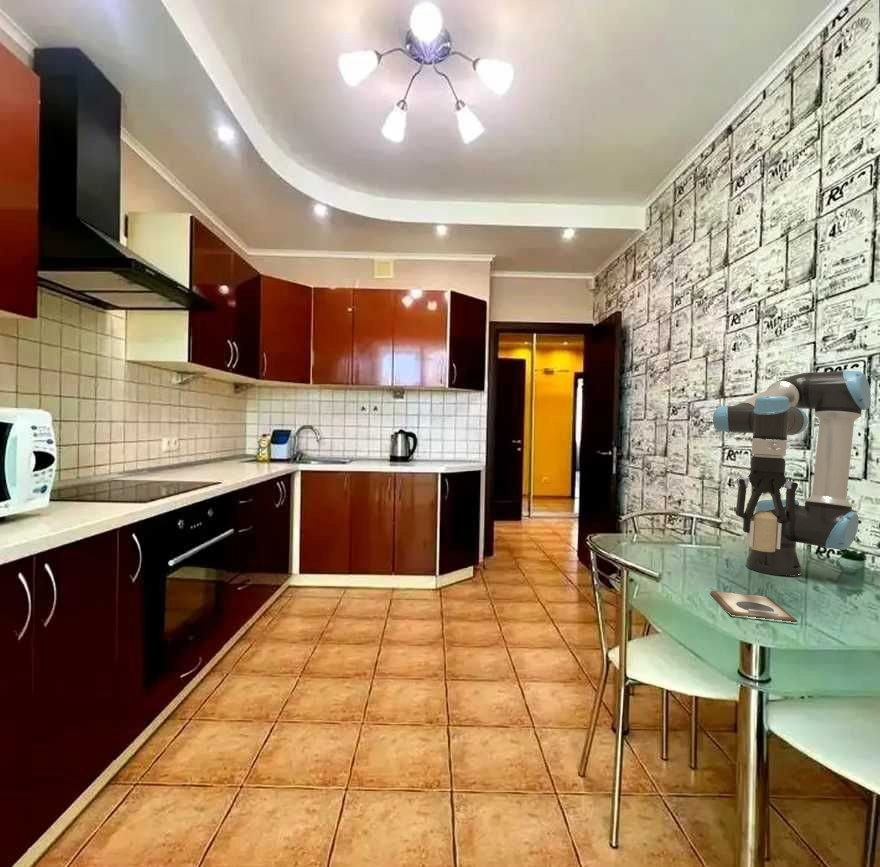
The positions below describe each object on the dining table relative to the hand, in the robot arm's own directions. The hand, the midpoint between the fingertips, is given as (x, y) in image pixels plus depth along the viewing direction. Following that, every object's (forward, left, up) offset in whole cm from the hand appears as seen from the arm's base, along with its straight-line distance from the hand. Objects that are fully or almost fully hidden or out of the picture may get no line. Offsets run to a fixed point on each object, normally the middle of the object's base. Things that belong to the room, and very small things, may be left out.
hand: (762, 546), depth 138 cm
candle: (0, 0, -1) cm, 1 cm away
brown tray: (+3, +4, -15) cm, 16 cm away
